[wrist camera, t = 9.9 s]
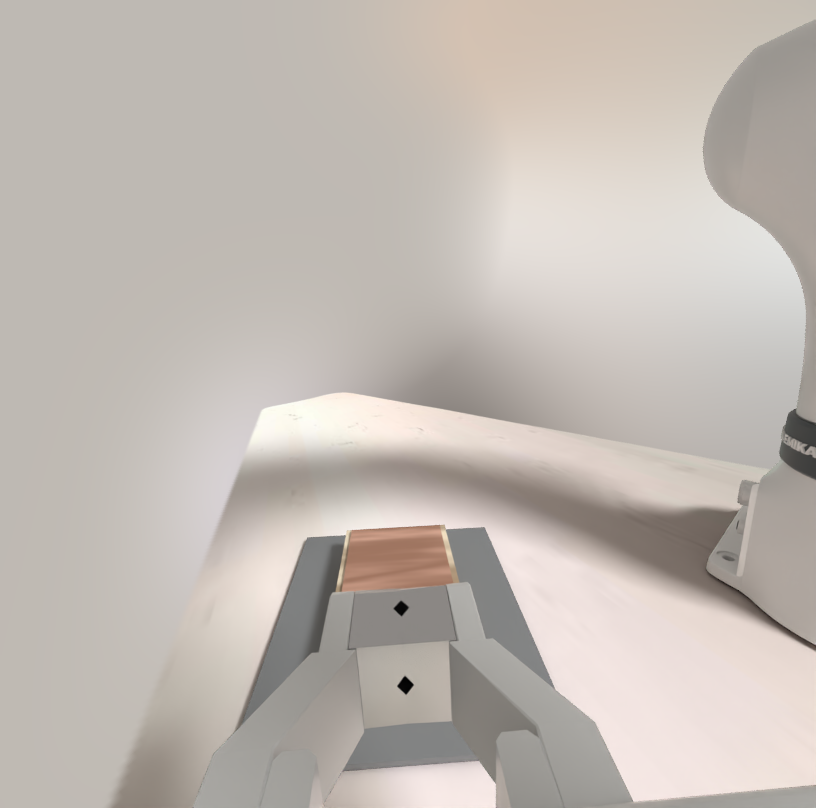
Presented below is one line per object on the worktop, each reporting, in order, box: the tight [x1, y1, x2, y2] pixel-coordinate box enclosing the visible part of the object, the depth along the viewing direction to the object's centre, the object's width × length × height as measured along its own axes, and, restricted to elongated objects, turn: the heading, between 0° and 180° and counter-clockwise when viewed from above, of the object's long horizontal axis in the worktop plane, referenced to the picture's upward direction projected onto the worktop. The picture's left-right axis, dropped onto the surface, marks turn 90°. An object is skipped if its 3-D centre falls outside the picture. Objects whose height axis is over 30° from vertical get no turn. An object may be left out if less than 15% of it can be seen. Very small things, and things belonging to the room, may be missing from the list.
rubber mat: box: [242, 527, 555, 771], centre depth 32 cm, size 22×18×1 cm
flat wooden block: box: [336, 525, 459, 592], centre depth 32 cm, size 3×9×14 cm
